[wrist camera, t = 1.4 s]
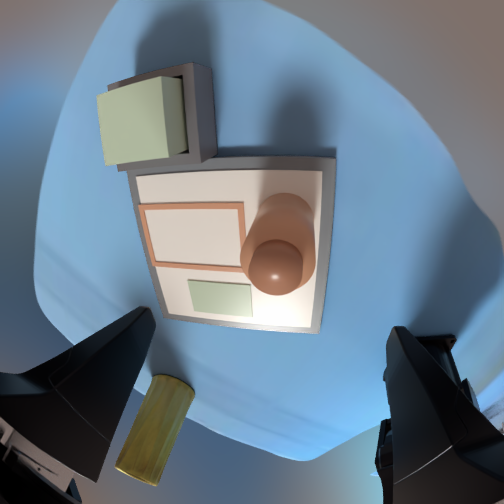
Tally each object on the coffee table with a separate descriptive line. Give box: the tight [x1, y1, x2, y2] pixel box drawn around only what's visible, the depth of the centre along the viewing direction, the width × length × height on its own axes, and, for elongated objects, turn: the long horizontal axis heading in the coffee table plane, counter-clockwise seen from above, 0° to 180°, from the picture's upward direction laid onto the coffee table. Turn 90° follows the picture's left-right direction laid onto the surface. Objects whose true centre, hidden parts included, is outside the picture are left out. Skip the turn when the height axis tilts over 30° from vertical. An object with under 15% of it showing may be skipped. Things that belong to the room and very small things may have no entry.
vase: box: [115, 374, 195, 486], centre depth 26 cm, size 6×6×14 cm
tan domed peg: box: [240, 193, 316, 296], centre depth 15 cm, size 4×4×6 cm
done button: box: [97, 76, 189, 166], centre depth 13 cm, size 4×4×4 cm
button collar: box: [108, 62, 218, 172], centre depth 14 cm, size 6×6×3 cm
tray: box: [127, 156, 336, 334], centre depth 20 cm, size 14×14×1 cm
